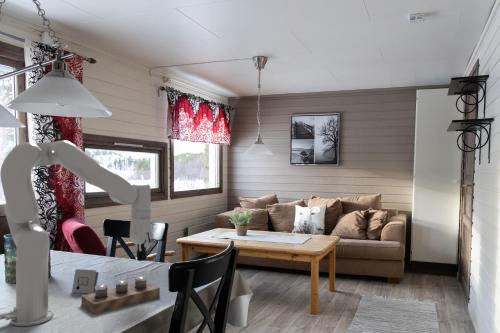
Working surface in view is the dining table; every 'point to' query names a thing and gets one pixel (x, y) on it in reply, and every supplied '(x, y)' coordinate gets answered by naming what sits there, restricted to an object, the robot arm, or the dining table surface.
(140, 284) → the knob far
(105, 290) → the knob near
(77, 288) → the electrical switch
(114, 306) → the knob mount
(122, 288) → the knob mid
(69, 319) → the dining table surface
